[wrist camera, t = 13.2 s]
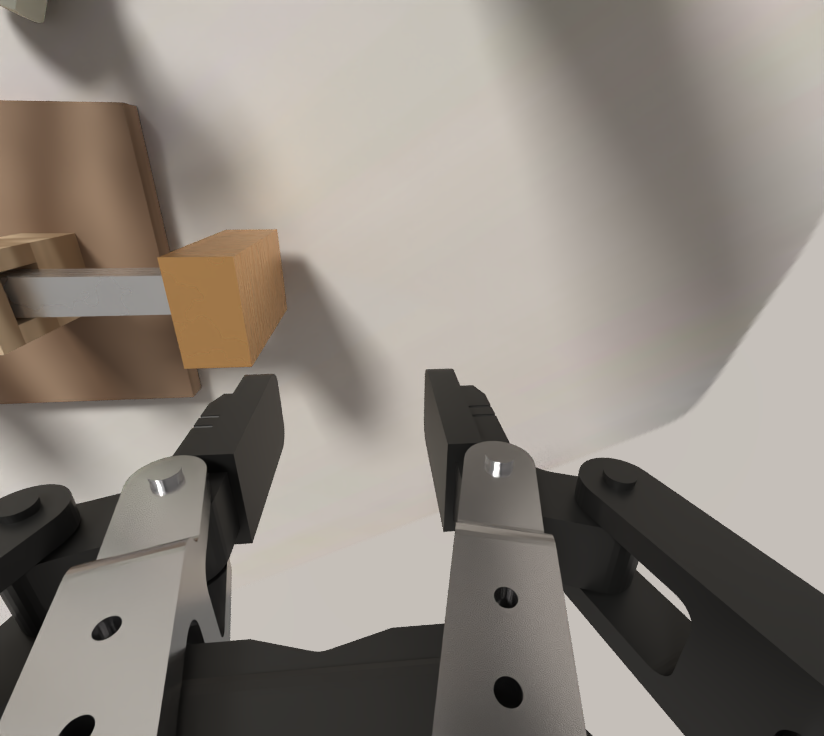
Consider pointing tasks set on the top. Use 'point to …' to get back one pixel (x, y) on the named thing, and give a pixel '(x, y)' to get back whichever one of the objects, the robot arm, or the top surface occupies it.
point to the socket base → (82, 253)
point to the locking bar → (175, 295)
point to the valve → (27, 8)
